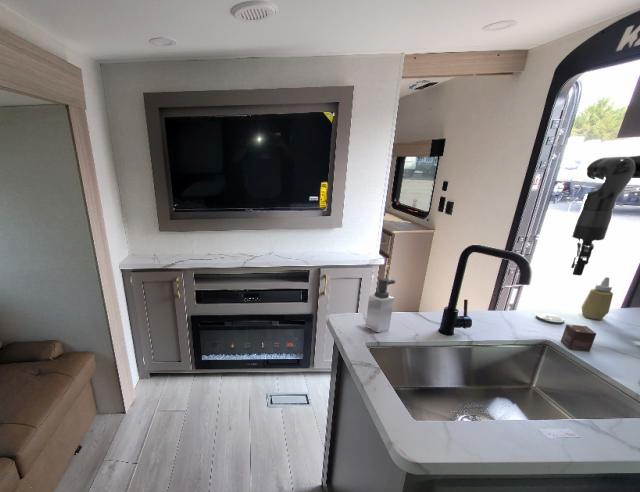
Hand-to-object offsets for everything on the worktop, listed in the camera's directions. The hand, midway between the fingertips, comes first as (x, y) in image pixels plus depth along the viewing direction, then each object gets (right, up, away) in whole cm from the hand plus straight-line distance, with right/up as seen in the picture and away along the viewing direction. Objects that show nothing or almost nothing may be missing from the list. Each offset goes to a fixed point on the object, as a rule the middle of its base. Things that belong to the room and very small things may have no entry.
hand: (575, 271), depth 110 cm
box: (+9, -27, +9) cm, 30 cm away
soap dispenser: (-56, -23, +26) cm, 66 cm away
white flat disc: (+18, -20, +28) cm, 39 cm away
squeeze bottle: (+37, -19, +29) cm, 51 cm away
